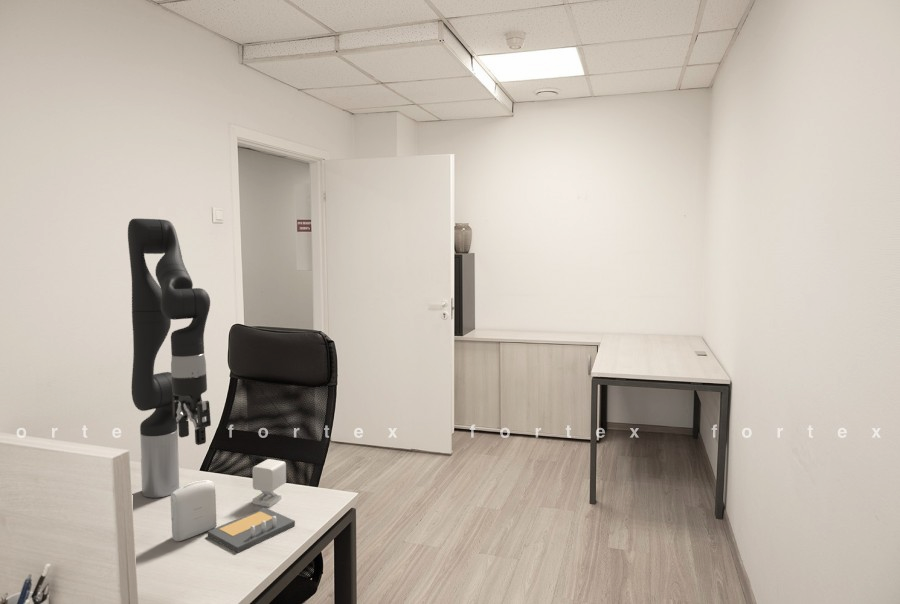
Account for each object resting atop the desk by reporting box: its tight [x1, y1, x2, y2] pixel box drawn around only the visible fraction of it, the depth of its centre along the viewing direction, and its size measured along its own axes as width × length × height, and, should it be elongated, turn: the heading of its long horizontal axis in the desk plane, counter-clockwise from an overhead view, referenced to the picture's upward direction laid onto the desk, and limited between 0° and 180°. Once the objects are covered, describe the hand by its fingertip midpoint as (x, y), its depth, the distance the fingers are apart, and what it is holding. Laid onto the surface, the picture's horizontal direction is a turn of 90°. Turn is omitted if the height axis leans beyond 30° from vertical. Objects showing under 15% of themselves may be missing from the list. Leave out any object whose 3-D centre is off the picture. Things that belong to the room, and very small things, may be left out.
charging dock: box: [207, 506, 296, 553], centre depth 140 cm, size 12×16×4 cm
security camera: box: [251, 458, 287, 508], centre depth 157 cm, size 6×7×10 cm
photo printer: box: [170, 479, 218, 542], centre depth 138 cm, size 10×4×12 cm, turn 140°
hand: (192, 440), depth 138 cm, fingers open, 8 cm apart
